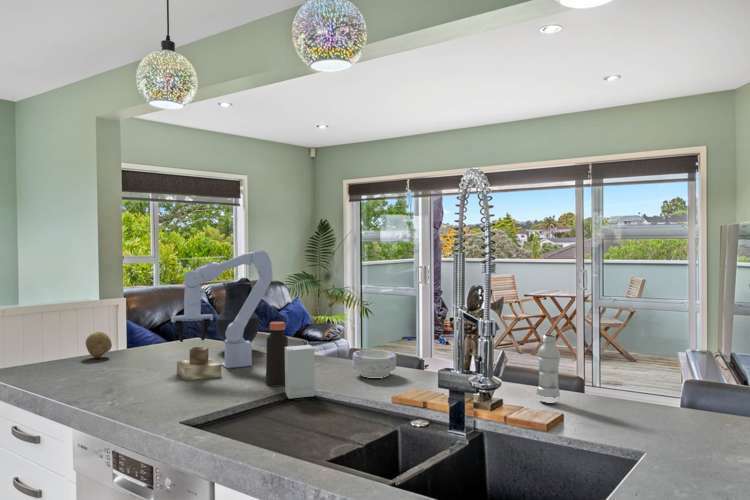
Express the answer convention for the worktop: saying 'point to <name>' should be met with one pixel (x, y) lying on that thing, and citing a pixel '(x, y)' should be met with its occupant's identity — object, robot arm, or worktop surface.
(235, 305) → the pitcher
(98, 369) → the worktop surface
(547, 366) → the plastic bottle
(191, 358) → the walnut cube
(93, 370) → the worktop surface
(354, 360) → the grey stone bowl
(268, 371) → the vinegar
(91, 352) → the natural sponge
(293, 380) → the skincare box
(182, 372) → the birch pedestal
